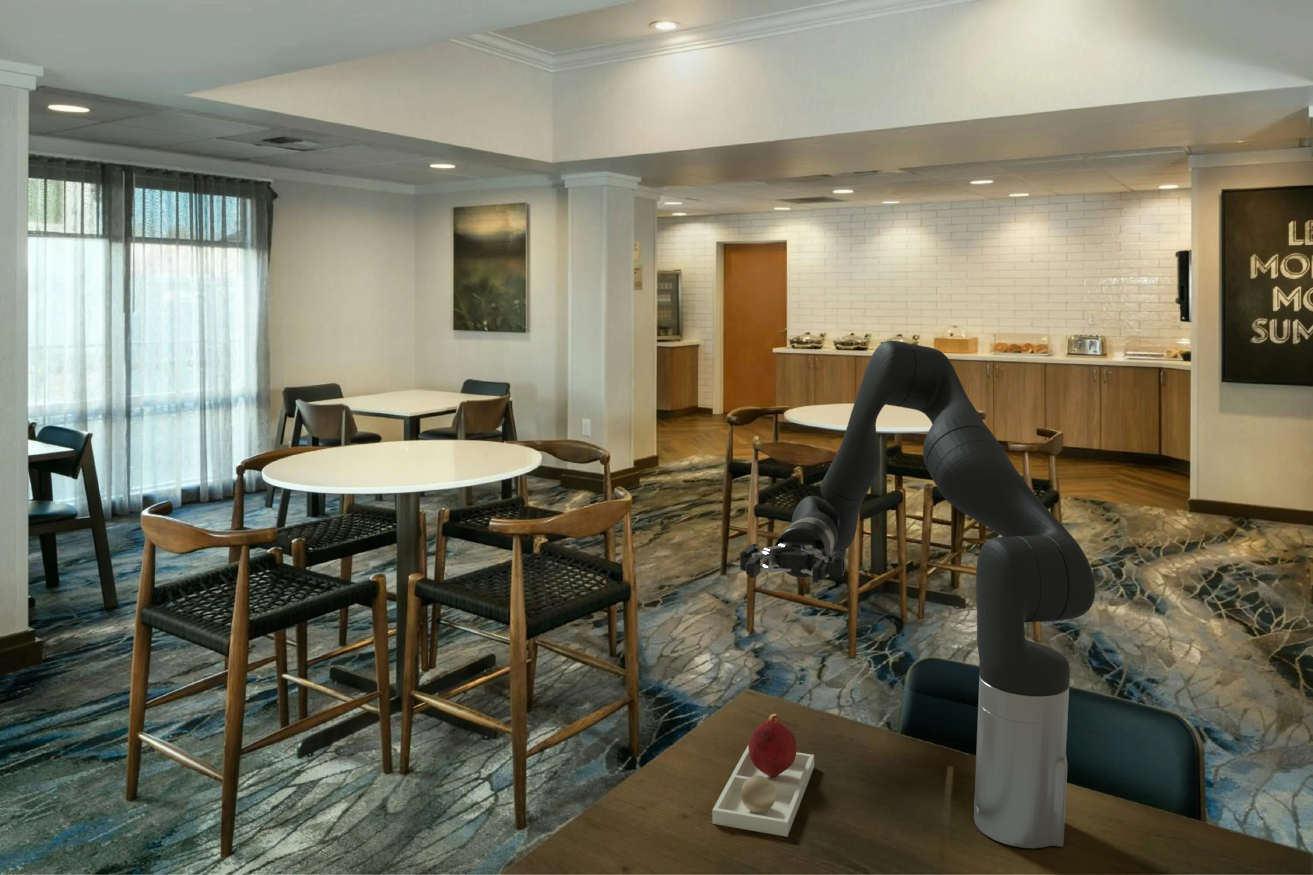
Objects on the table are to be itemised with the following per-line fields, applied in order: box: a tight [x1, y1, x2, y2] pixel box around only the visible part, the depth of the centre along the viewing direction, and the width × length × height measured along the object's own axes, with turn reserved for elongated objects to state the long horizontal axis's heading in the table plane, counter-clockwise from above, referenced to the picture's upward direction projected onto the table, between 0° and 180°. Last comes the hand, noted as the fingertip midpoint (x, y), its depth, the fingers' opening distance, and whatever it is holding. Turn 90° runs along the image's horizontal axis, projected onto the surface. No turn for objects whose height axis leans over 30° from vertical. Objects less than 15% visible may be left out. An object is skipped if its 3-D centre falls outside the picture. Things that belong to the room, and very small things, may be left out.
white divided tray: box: [711, 744, 815, 838], centre depth 113 cm, size 8×16×2 cm, turn 161°
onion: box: [747, 713, 798, 777], centre depth 116 cm, size 6×6×8 cm
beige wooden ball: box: [741, 776, 776, 813], centre depth 109 cm, size 4×4×4 cm
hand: (783, 572), depth 126 cm, fingers open, 8 cm apart
